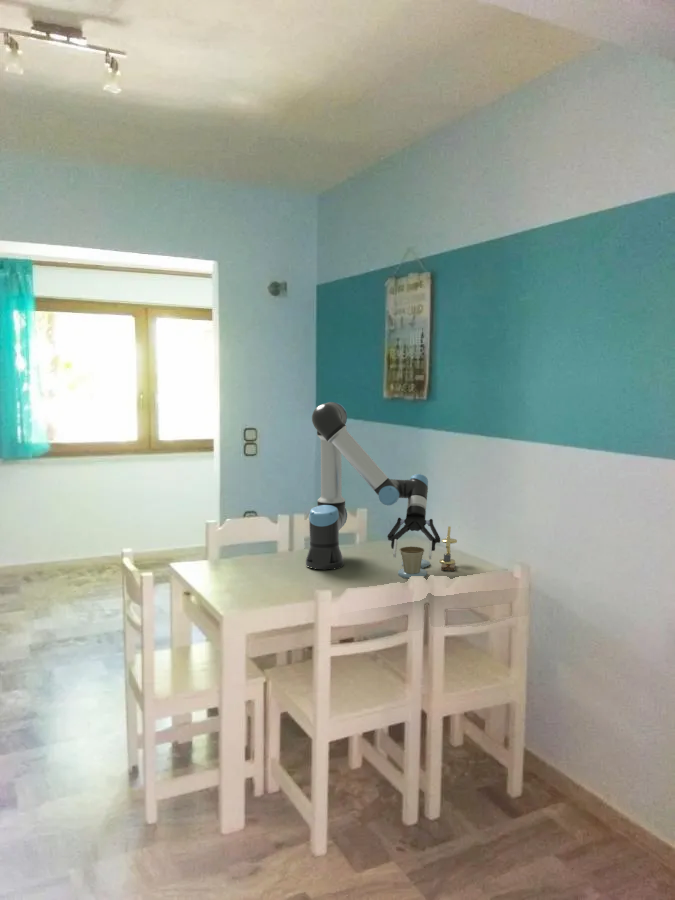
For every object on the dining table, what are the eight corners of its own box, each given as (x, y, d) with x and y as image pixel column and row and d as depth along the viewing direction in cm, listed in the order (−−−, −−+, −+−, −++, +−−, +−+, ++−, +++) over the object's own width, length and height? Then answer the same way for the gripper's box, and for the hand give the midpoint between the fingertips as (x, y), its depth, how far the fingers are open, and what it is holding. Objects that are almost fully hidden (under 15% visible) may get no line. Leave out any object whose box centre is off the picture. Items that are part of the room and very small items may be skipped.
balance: (438, 575, 263) (438, 537, 262) (442, 560, 284) (442, 524, 282) (454, 576, 262) (455, 537, 260) (457, 560, 283) (457, 525, 281)
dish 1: (396, 577, 261) (396, 575, 261) (399, 569, 272) (399, 567, 272) (425, 579, 259) (425, 576, 259) (428, 570, 270) (428, 568, 270)
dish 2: (400, 568, 274) (400, 565, 274) (403, 560, 285) (403, 558, 285) (428, 569, 272) (428, 566, 272) (430, 561, 282) (430, 559, 282)
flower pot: (425, 575, 261) (425, 552, 260) (400, 575, 261) (400, 553, 260) (423, 567, 270) (423, 546, 269) (399, 568, 270) (398, 546, 269)
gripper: (448, 515, 276) (445, 563, 263) (386, 513, 281) (380, 559, 269) (447, 505, 270) (444, 553, 258) (384, 503, 276) (378, 550, 263)
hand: (412, 556), depth 263 cm, fingers open, 13 cm apart
